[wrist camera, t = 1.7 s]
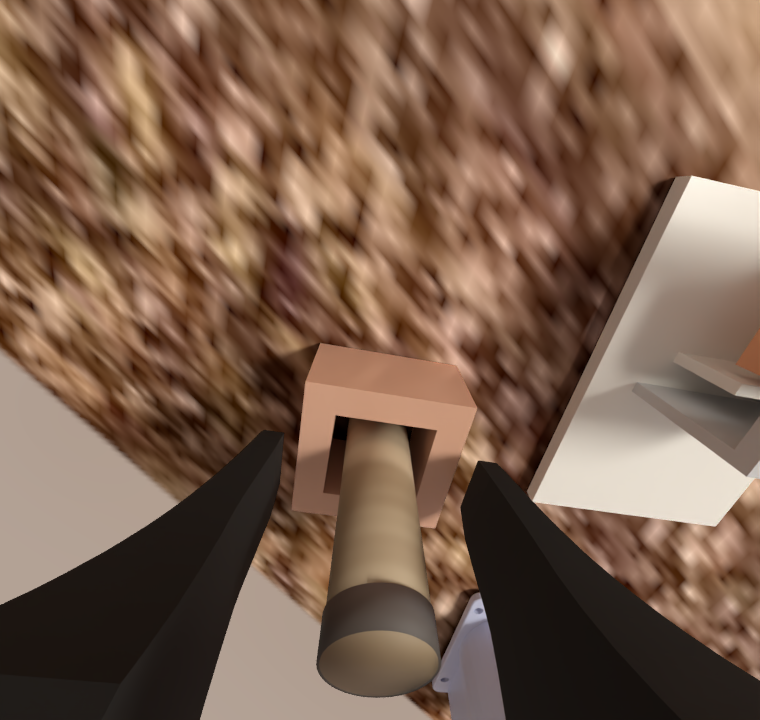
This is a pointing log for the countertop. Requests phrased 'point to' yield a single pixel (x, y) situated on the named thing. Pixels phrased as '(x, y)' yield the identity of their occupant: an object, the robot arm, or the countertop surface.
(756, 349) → the button
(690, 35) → the countertop surface
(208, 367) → the countertop surface
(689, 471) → the square socket plate
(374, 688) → the stylus
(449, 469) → the stylus holder
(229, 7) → the countertop surface
